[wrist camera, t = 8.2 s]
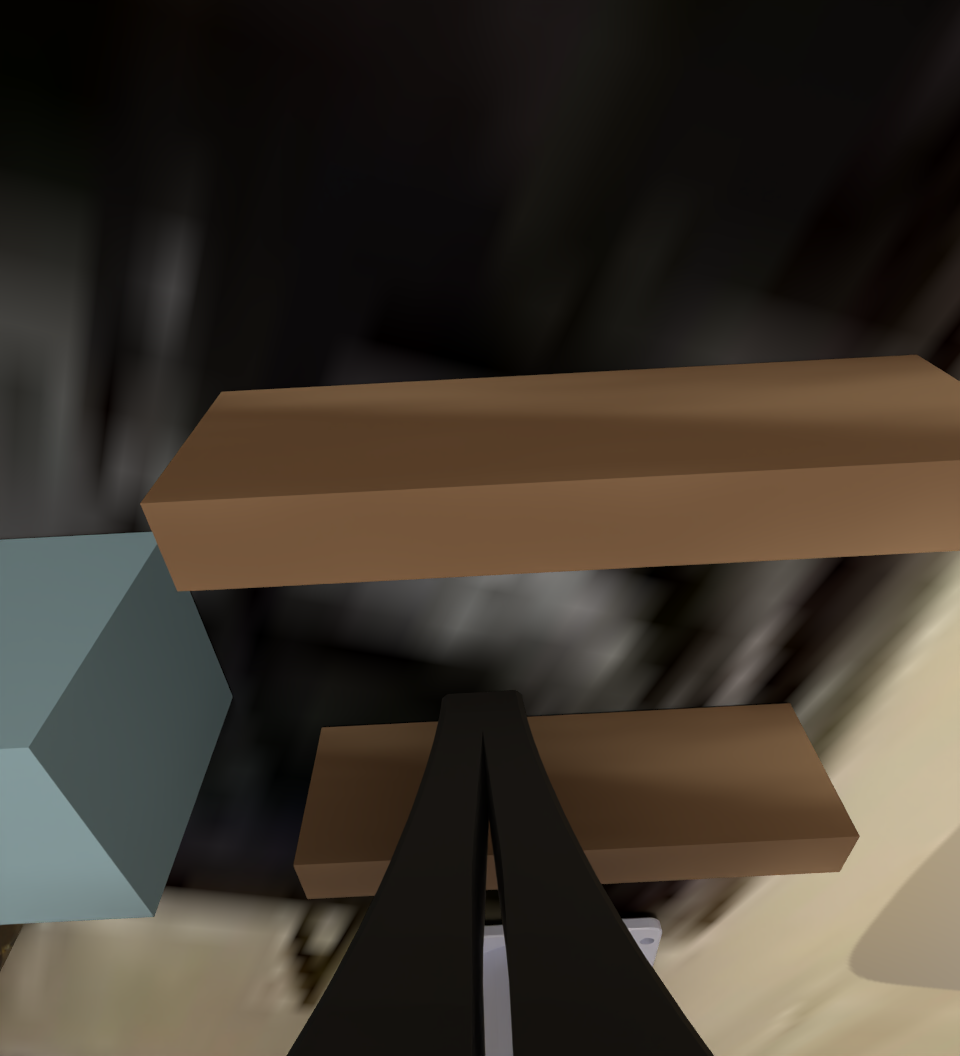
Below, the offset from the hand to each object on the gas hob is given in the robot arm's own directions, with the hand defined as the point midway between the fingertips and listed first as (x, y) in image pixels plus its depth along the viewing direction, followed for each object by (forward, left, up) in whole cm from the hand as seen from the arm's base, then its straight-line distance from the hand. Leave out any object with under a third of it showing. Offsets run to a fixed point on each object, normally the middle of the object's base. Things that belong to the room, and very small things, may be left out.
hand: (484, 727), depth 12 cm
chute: (0, -2, -3) cm, 4 cm away
